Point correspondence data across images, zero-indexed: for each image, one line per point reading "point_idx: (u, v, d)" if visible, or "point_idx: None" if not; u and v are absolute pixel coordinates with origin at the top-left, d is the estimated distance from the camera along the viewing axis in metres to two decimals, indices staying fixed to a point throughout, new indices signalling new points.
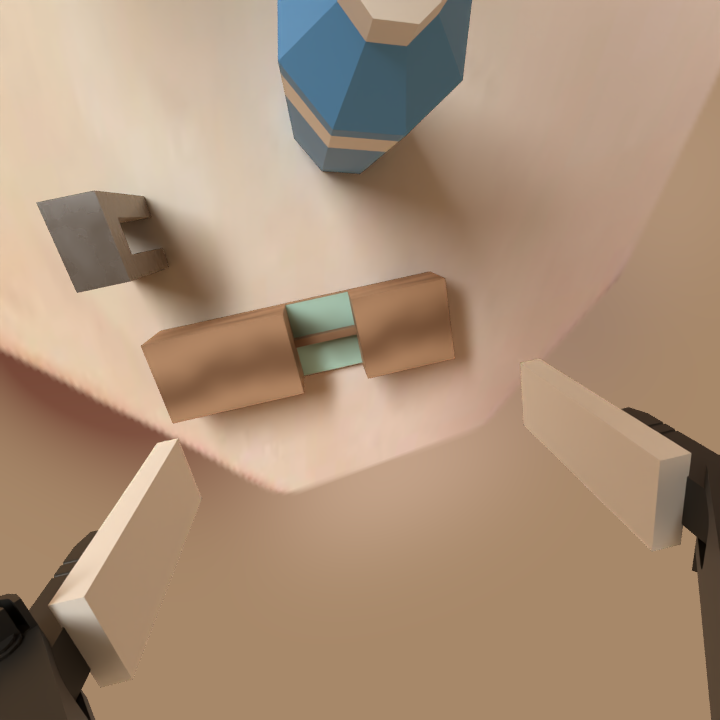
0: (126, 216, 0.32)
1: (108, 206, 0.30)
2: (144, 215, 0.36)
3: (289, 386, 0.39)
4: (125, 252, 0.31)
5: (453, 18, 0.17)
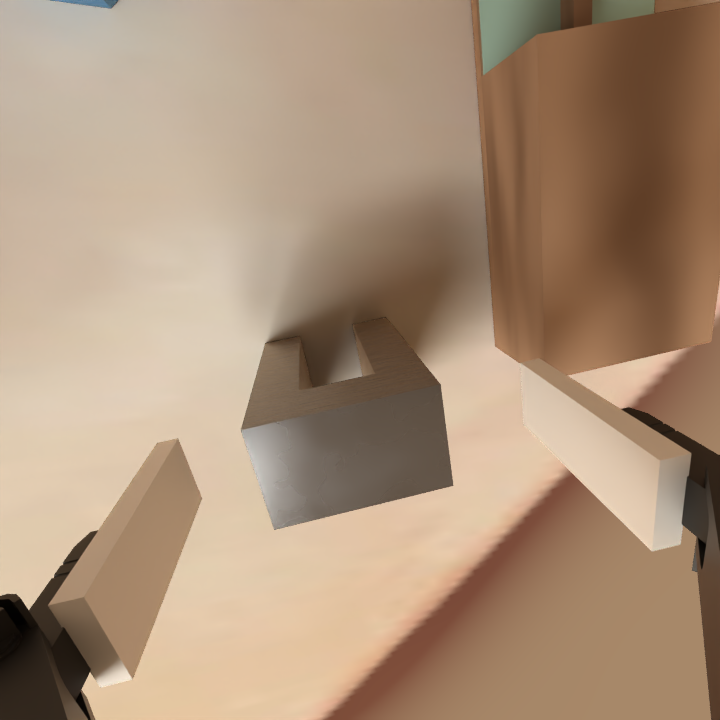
0: (297, 374, 0.16)
1: (276, 405, 0.14)
2: (296, 345, 0.20)
3: None
4: (372, 385, 0.14)
5: None
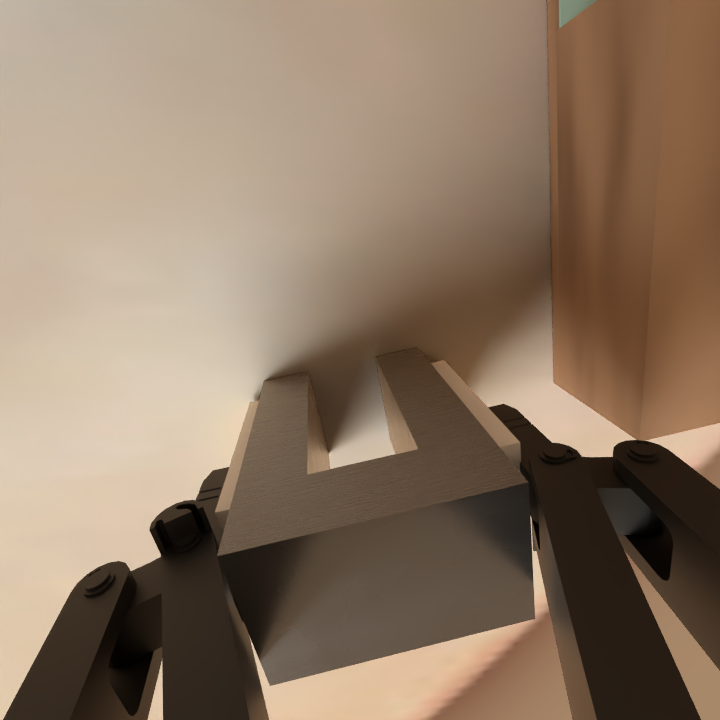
0: (305, 439, 0.12)
1: (273, 503, 0.09)
2: (304, 386, 0.15)
3: None
4: (418, 474, 0.09)
5: None
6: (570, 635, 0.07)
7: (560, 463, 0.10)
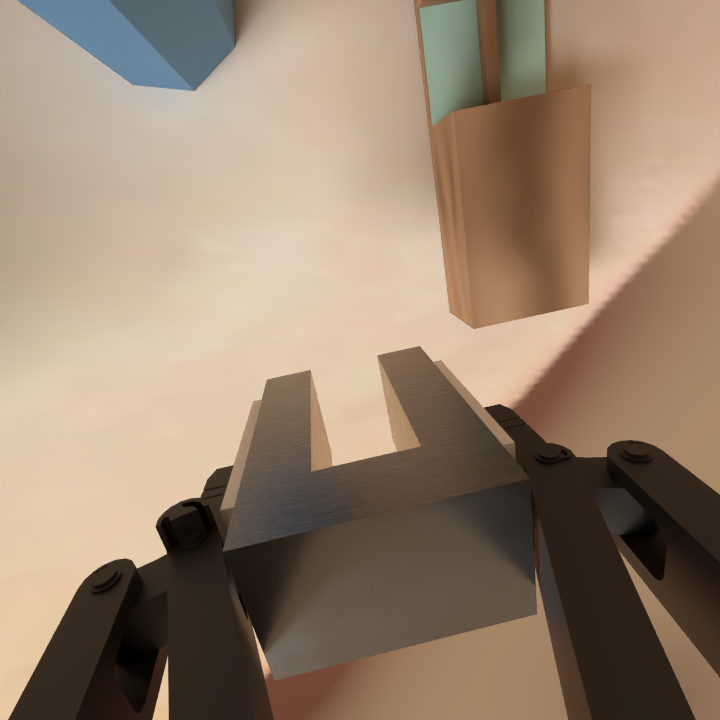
0: (308, 437, 0.12)
1: (278, 499, 0.09)
2: (306, 385, 0.15)
3: (572, 111, 0.23)
4: (421, 470, 0.09)
5: None
6: (565, 635, 0.07)
7: (554, 463, 0.10)
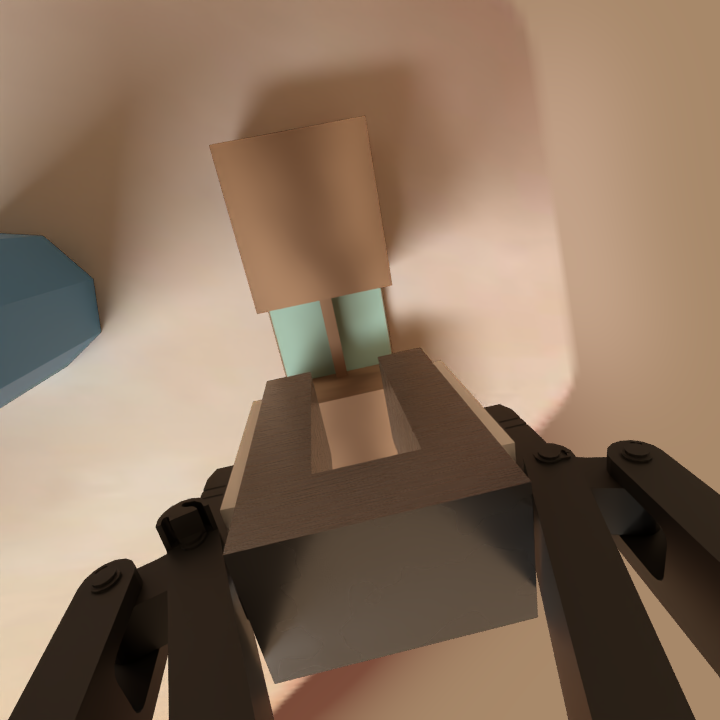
0: (308, 439, 0.12)
1: (278, 502, 0.09)
2: (307, 386, 0.15)
3: None
4: (421, 473, 0.09)
5: None
6: (565, 635, 0.07)
7: (554, 463, 0.10)
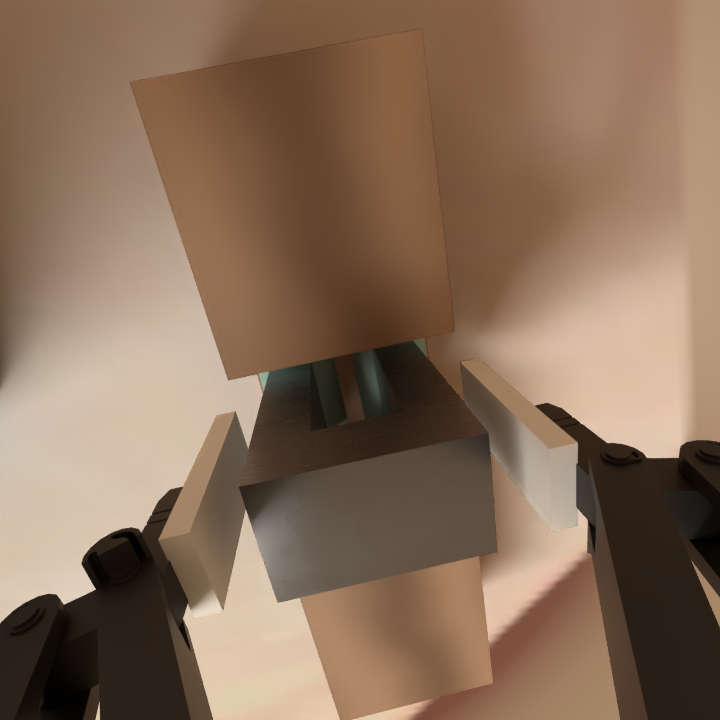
0: (308, 406, 0.14)
1: (282, 451, 0.11)
2: (307, 367, 0.17)
3: None
4: (401, 429, 0.11)
5: None
6: (624, 638, 0.06)
7: (623, 465, 0.09)
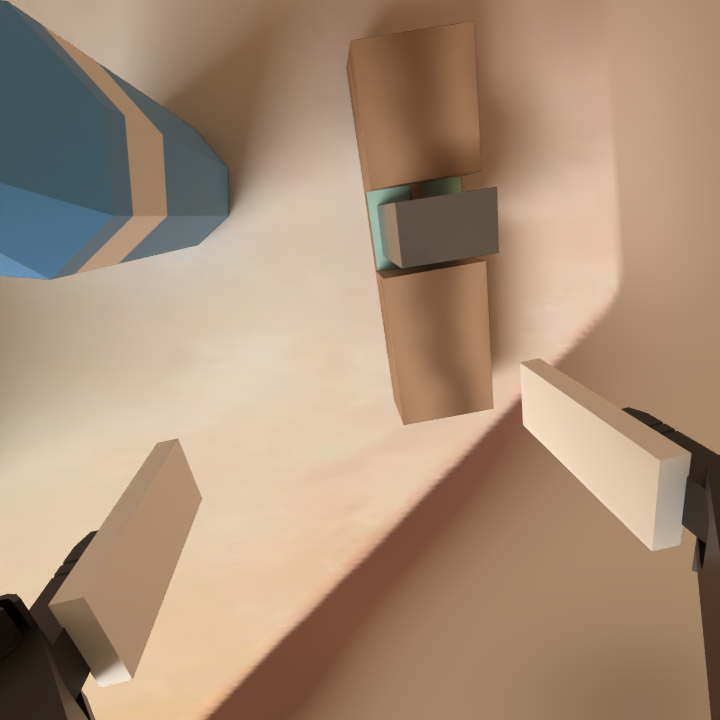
0: None
1: None
2: None
3: (473, 278, 0.32)
4: None
5: None
6: None
7: None
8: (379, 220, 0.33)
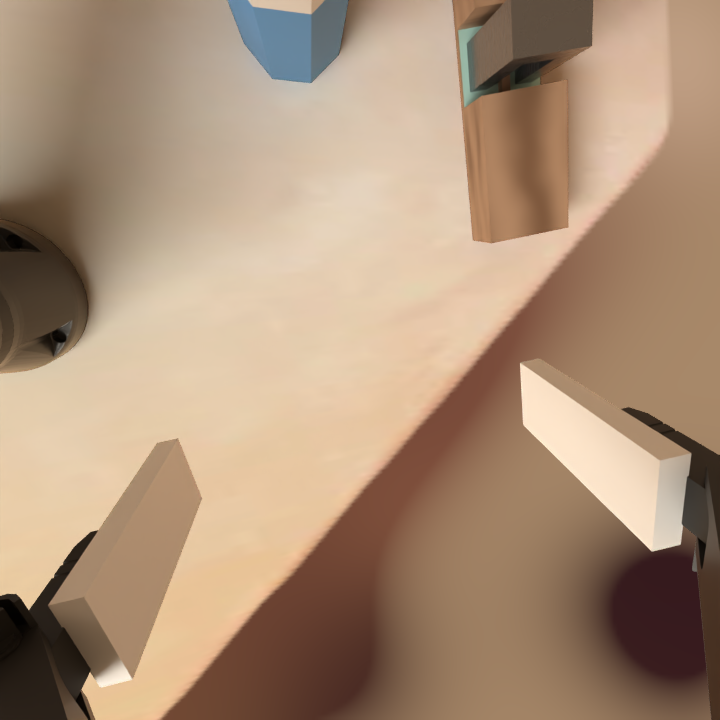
0: None
1: None
2: None
3: (556, 96, 0.37)
4: None
5: None
6: None
7: None
8: (469, 55, 0.38)
